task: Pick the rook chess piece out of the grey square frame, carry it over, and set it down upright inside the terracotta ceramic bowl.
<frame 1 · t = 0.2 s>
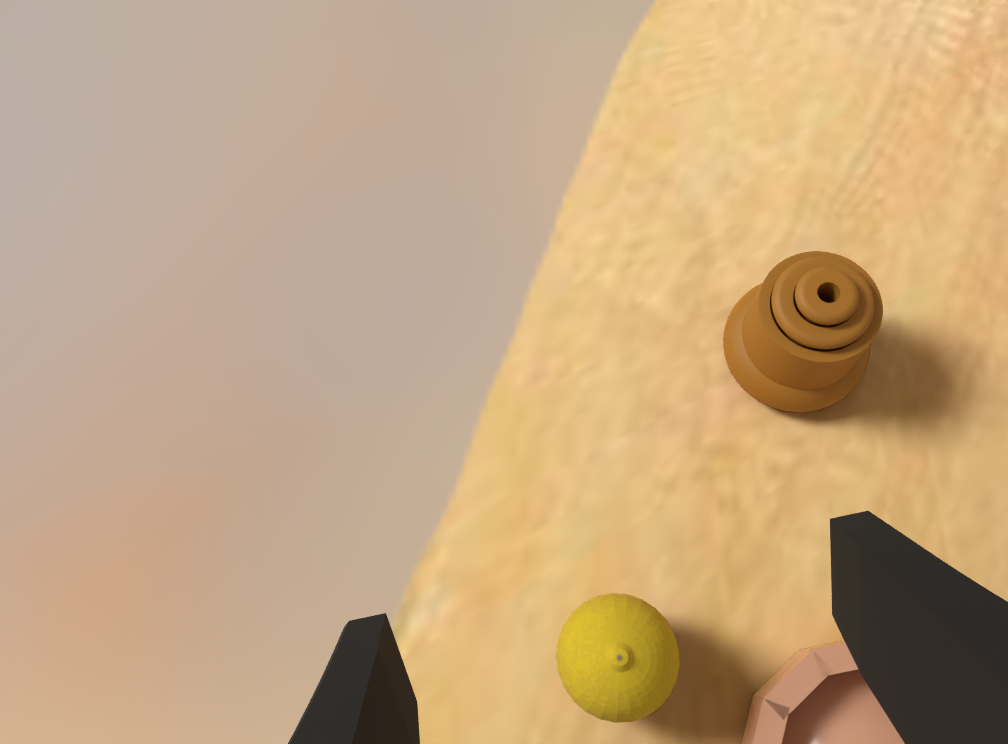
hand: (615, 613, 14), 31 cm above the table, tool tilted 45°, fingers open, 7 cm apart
lemon: (615, 656, 42), on the table
ornamental finial: (789, 352, 46), on the table
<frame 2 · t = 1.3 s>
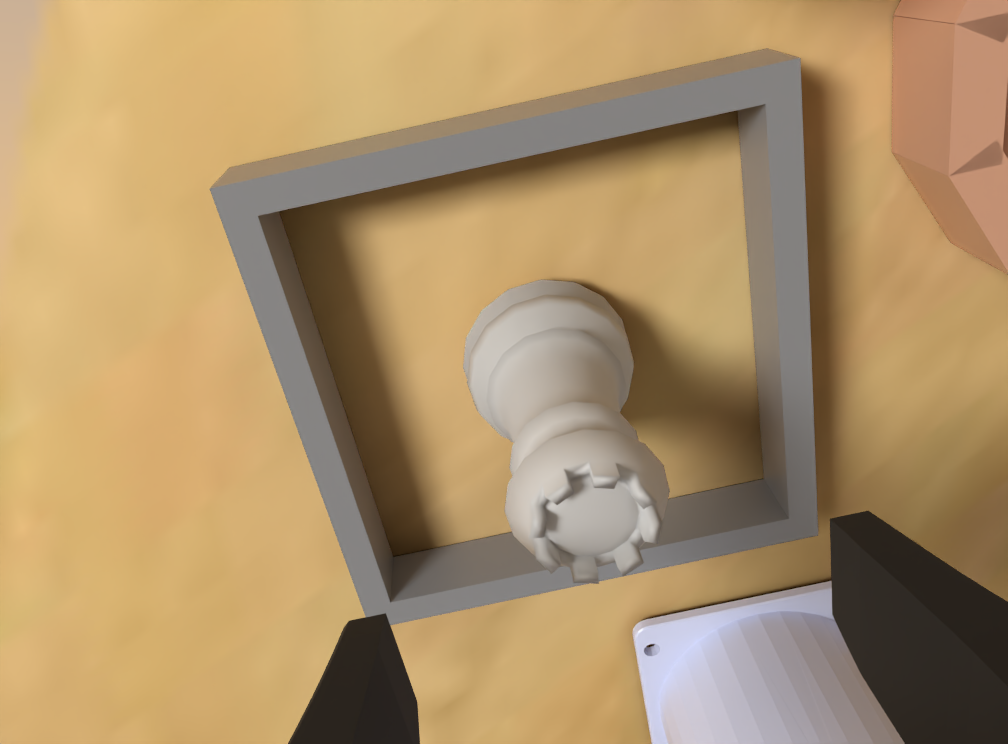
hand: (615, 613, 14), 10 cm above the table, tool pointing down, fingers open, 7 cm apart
grey square frame: (544, 351, 23), on the table
rook chess piece: (543, 347, 23), resting in grey square frame
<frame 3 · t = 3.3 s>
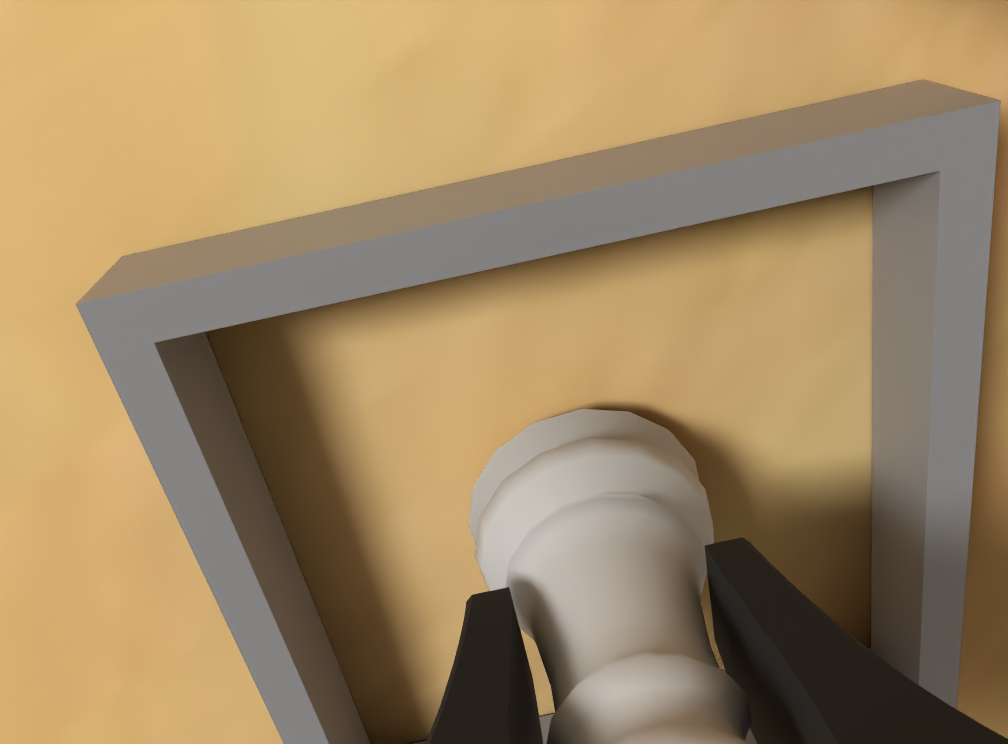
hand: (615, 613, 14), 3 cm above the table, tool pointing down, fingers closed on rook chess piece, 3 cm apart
grey square frame: (582, 496, 16), on the table
rook chess piece: (580, 490, 17), resting in grey square frame, touching gripper
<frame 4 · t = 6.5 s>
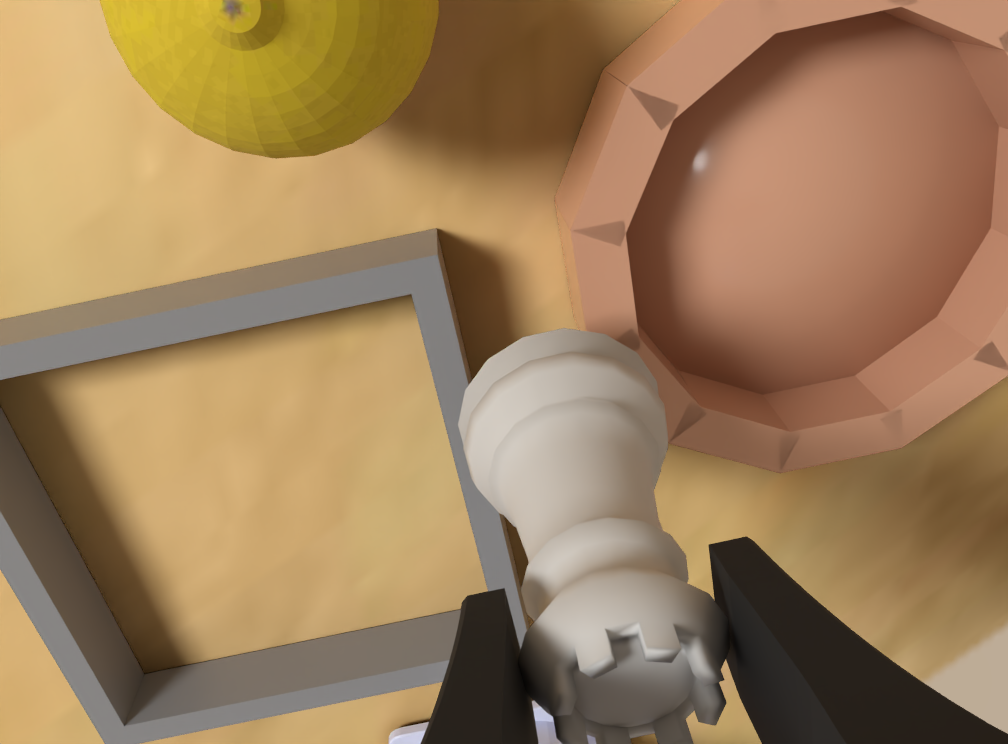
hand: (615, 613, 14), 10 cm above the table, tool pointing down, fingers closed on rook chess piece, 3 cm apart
grey square frame: (263, 492, 24), on the table
bowl: (794, 211, 22), on the table
rook chess piece: (555, 403, 19), point 4 cm above the table, touching gripper
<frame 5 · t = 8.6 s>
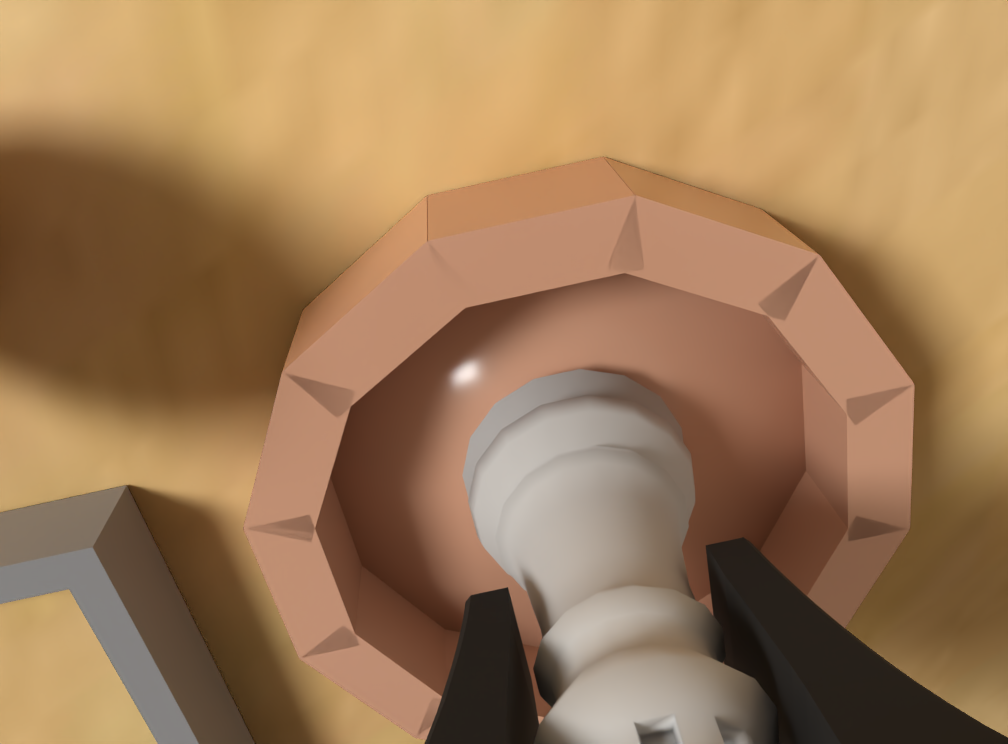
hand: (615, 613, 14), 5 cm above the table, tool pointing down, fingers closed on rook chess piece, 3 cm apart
bowl: (568, 453, 18), on the table
rook chess piece: (569, 451, 17), resting on bowl, touching gripper
when the fingers open (5 cm above the table, at t = 9.3 s): rook chess piece stays where it is, resting on bowl.
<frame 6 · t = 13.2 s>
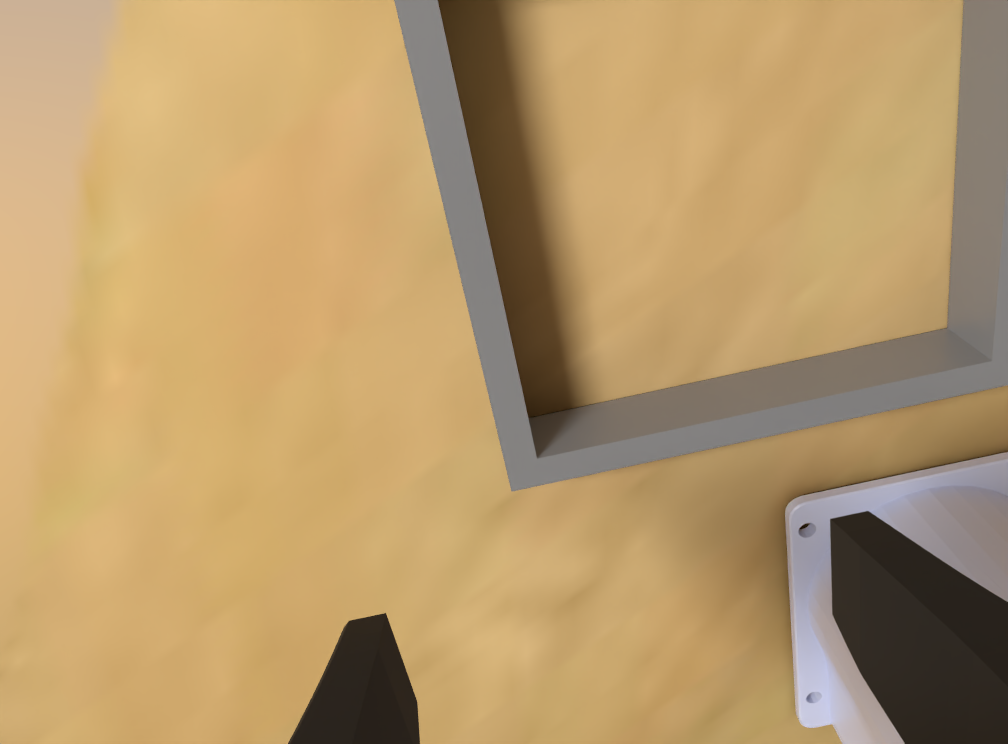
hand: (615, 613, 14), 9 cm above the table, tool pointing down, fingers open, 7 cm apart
grey square frame: (720, 164, 20), on the table
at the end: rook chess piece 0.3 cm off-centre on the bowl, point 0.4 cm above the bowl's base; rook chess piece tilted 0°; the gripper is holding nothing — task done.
